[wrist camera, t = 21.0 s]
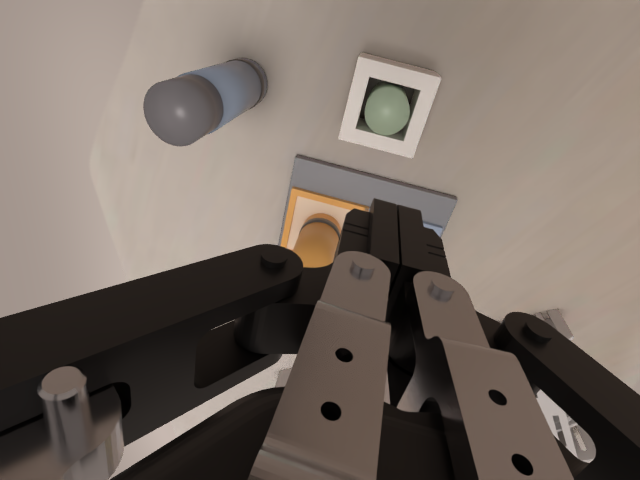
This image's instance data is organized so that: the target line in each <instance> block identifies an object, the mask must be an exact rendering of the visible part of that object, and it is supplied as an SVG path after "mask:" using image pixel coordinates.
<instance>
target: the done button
mask: <svg viewBox="0 0 640 480" xmlns="http://www.w3.org/2000/svg"><path fill="white" fill-rule="evenodd" d="M409 115H410V107H409V103H408V99H407V95H406V92H405V90H404V88H403V87H402V86H401V85H399V84H395V83H391V82H387V81H383V82H380V83H378V84H377V85H375V86H374V87H373V88H372V90H371V91H370V93H369V96H368V99H367V103H366V107H365V120H366V123H367V125H368V126H369V127H370V129H371V130H373V131H374V132H375V133H378V134H380V135H392V134H395V133H397V132H398V131H400V130H401V129H402V128H403V127H404V126H405V125H406V123H407V121H408V119H409Z"/></svg>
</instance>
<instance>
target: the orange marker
mask: <svg viewBox="0 0 640 480" xmlns="http://www.w3.org/2000/svg"><path fill="white" fill-rule="evenodd" d="M340 234H341V228H340V225H339V223H338V222H337V220H336V219H335V218H333V217H332V216H330V215H328V214H324V213H317V214H313V215H311V216H309V217H308V218H307V219H306V220H305V222H304V224H303V226H302V228H301V230H300V232H299V236H298V239H297V241H296V244H295V246H294V248H293V252H294V253H296V254H297V255H298V256H299V257H300V258H301V260H302V262H303V267H310V268H316V267H323V266H327V265H329V264H331V263H333V260H334V255H335V251H336V248H337V244H338V241H339V237H340Z"/></svg>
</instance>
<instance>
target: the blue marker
mask: <svg viewBox="0 0 640 480" xmlns="http://www.w3.org/2000/svg"><path fill="white" fill-rule="evenodd" d="M266 91H267V78H266V75H265V73H264V71H263V69H262V68H261V67H260V66H259V65H258V64H257V63H256V62H254V61H253V60H250V59H246V58H240V59H234V60H230V61H227V62H225V63H221V64H218V65H214V66H210V67H206V68H202V69H199V70H195V71H191V72H187V73H184V74H181V75H179V76H178V77H176V78H172V79H169V80H165V81H162V82H158V83H156V84H154V85H153V86H152V87H151V88H150V89H149V90H148V91H147V93H146V95H145V98H144V114H145V118H146V121H147V123H148V125H149V127H150V128H151V130H152V131H153V132H154V133H155V135H157V136H158V137H159V138H160V139H161V140H163V141H164V142H166V143H168V144H171V145H174V146H187V145H190V144H192V143H194V142H195V141H197V140H198V139H200V138H202V137H203V136H205V135H206V134H210V133H212V132H214V131H216V130H217V129H219V128H220V127H222V126H223V125H225V124H226V123H228V122H230V121H231V120H233V119H234V118H236V117H237V116H239V115H240V114H242V113H243V112H245V111H247V110H248V109H251V108H252V107H254V106H255V105H257V104H258V103H259V102H260V101H261V100H262V99H263V98H264V96H265V94H266Z"/></svg>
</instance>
